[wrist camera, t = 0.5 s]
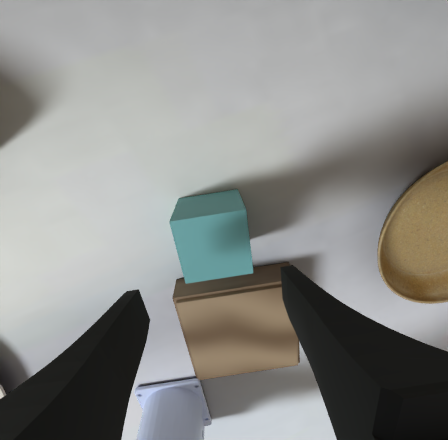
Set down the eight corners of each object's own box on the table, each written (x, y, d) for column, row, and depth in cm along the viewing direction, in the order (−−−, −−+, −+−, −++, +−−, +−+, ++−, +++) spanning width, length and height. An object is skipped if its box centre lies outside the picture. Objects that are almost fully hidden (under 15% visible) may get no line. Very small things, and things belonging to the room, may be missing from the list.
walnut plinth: (291, 341, 27) (301, 366, 24) (197, 355, 27) (196, 382, 24) (288, 262, 22) (299, 281, 20) (176, 279, 23) (171, 301, 20)
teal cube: (244, 240, 21) (253, 273, 17) (190, 249, 21) (185, 283, 17) (237, 188, 19) (246, 209, 15) (178, 198, 19) (169, 221, 15)
